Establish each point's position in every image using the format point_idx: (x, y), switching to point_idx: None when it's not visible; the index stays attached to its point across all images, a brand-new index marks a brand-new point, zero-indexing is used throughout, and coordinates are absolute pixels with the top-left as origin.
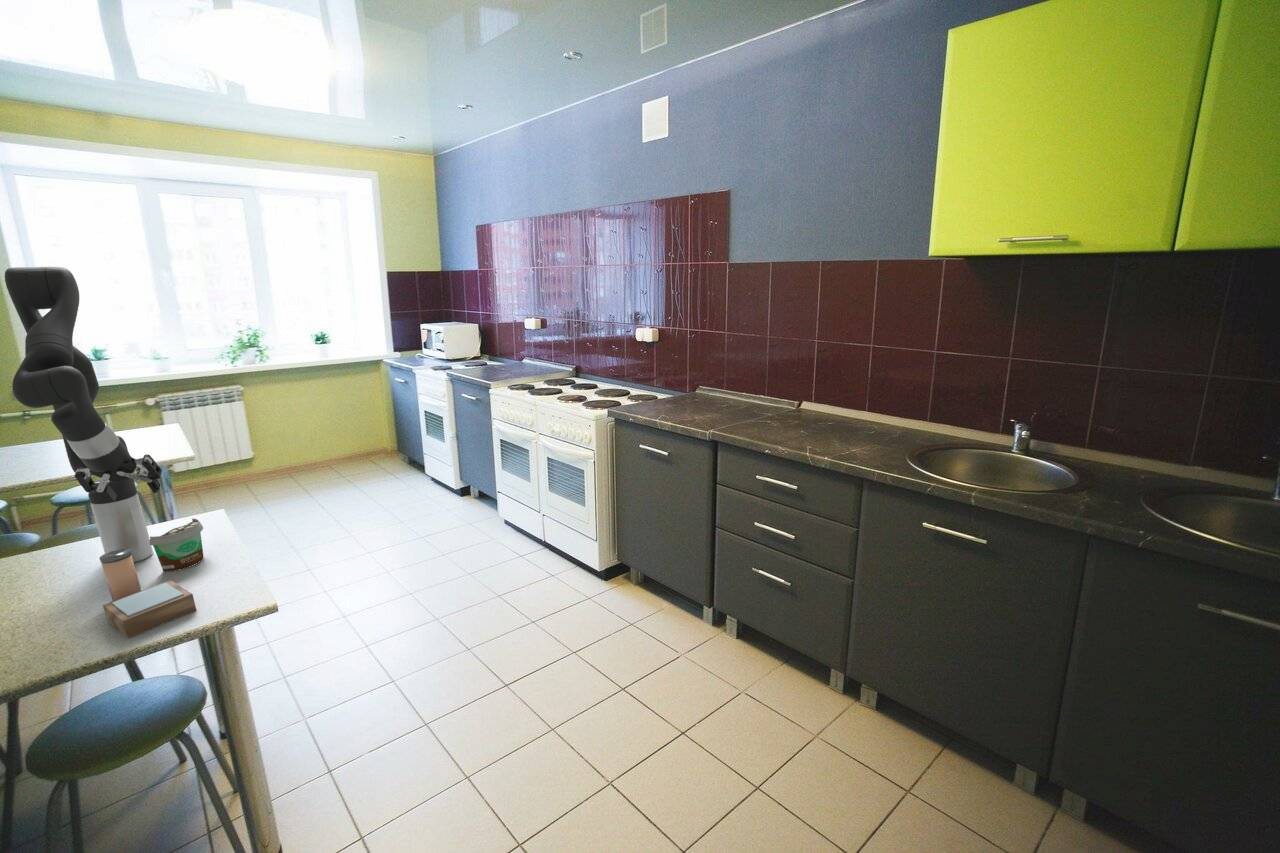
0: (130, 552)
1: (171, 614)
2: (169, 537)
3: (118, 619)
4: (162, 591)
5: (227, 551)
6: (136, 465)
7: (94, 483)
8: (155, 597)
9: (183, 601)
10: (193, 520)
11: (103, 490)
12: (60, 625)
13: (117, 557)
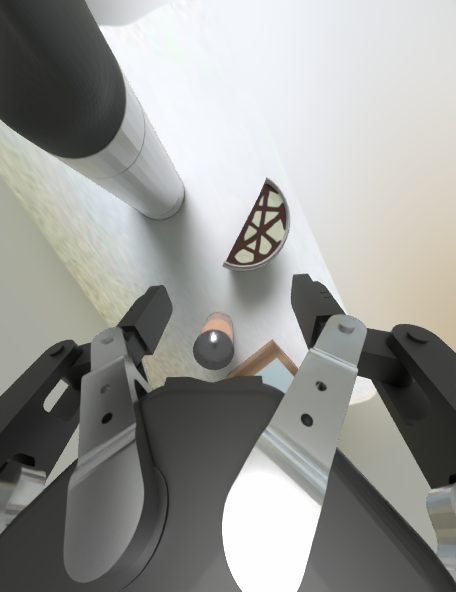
0: (233, 347)
1: None
2: (256, 266)
3: None
4: (283, 382)
5: (293, 216)
6: (339, 422)
7: (80, 368)
8: None
9: None
10: (268, 182)
11: (144, 365)
12: (180, 368)
13: (224, 366)
